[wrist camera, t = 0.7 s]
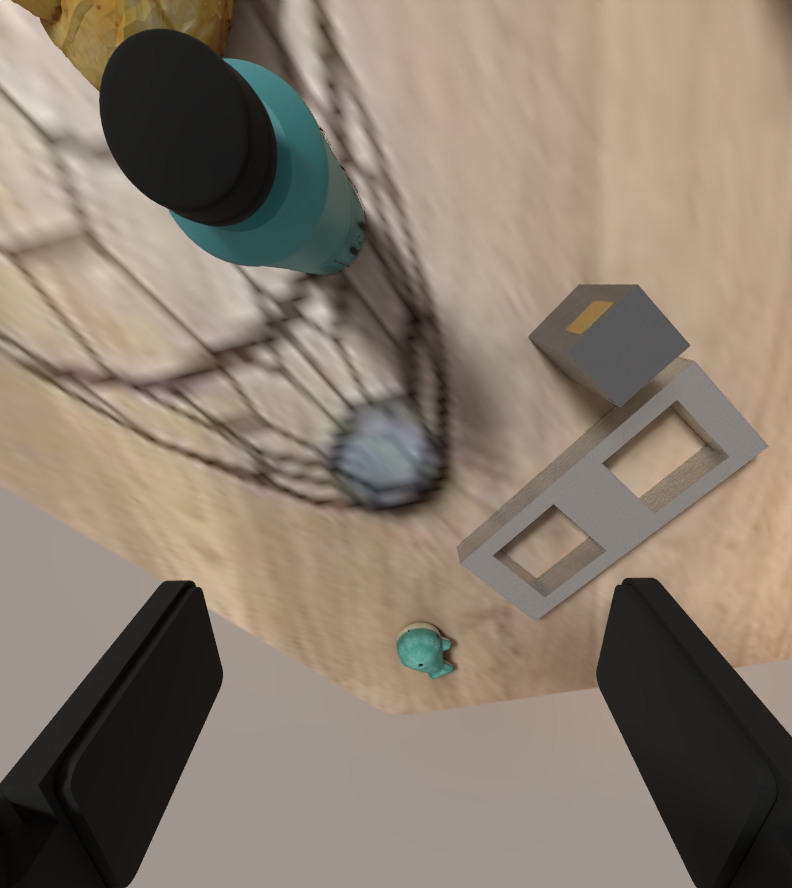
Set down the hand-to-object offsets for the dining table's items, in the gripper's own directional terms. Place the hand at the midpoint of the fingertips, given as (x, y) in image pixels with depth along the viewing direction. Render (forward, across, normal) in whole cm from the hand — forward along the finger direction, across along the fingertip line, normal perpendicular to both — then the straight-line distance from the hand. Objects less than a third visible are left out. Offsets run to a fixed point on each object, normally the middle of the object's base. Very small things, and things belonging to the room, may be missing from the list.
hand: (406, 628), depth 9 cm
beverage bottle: (+25, +6, -11) cm, 28 cm away
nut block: (+25, -13, -3) cm, 29 cm away
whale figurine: (+25, -2, +28) cm, 38 cm away
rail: (+25, -16, +11) cm, 32 cm away
